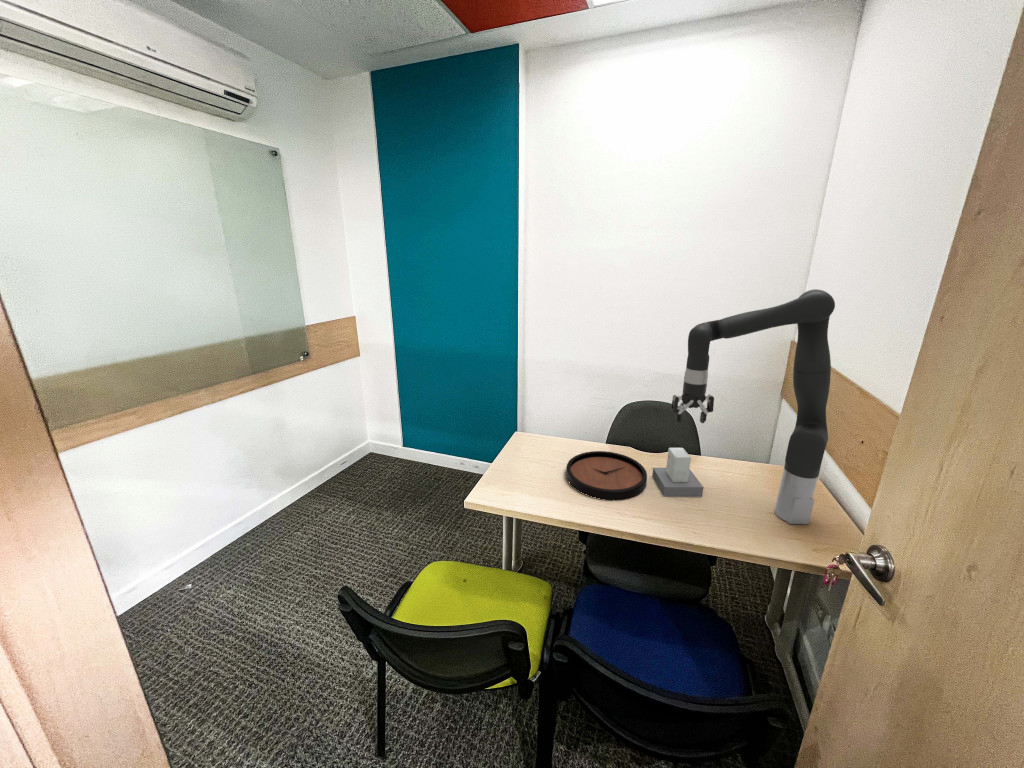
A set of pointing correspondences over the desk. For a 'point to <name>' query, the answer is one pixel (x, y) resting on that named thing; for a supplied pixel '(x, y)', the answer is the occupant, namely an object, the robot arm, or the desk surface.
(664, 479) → the base block
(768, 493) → the desk surface
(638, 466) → the wall clock
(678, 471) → the small box
